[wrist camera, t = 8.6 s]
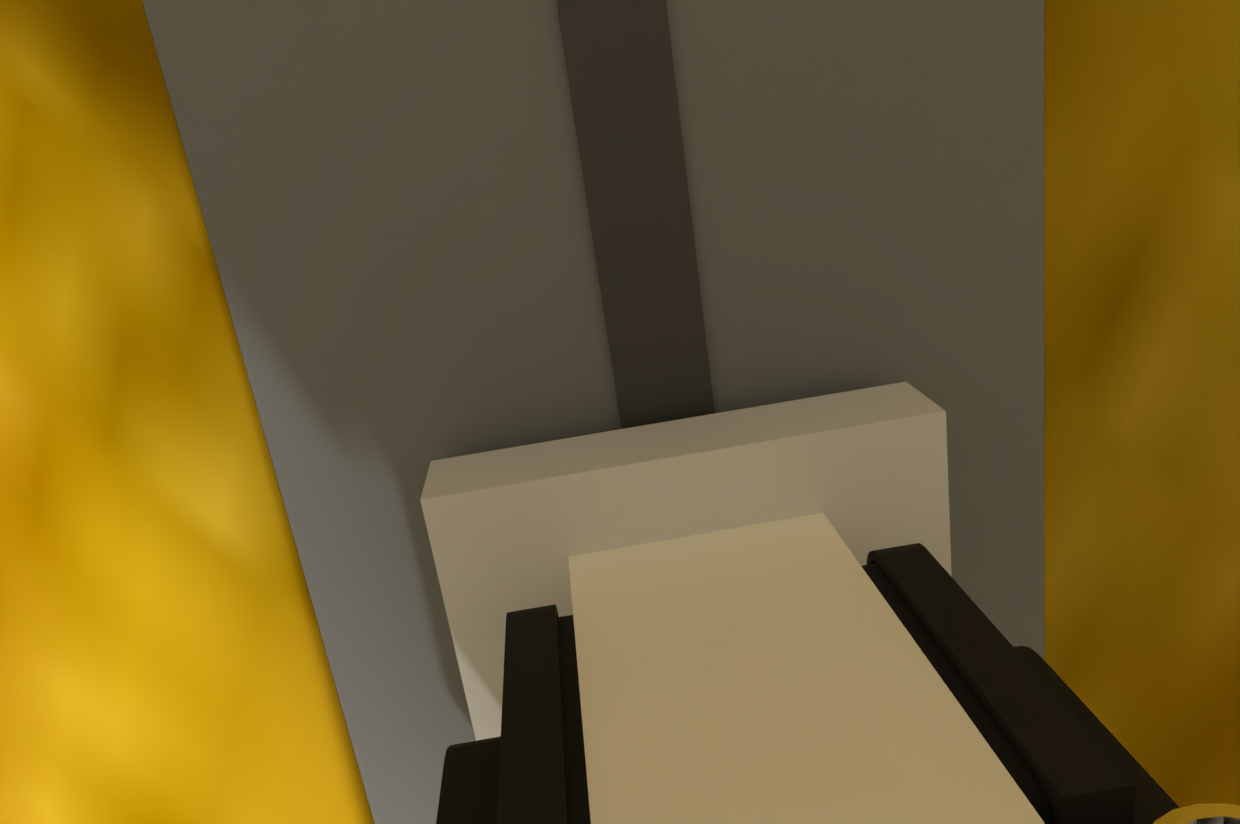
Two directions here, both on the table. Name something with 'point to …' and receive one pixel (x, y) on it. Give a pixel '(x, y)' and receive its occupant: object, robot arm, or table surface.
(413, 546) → the rail board
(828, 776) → the fader tab
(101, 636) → the table surface
